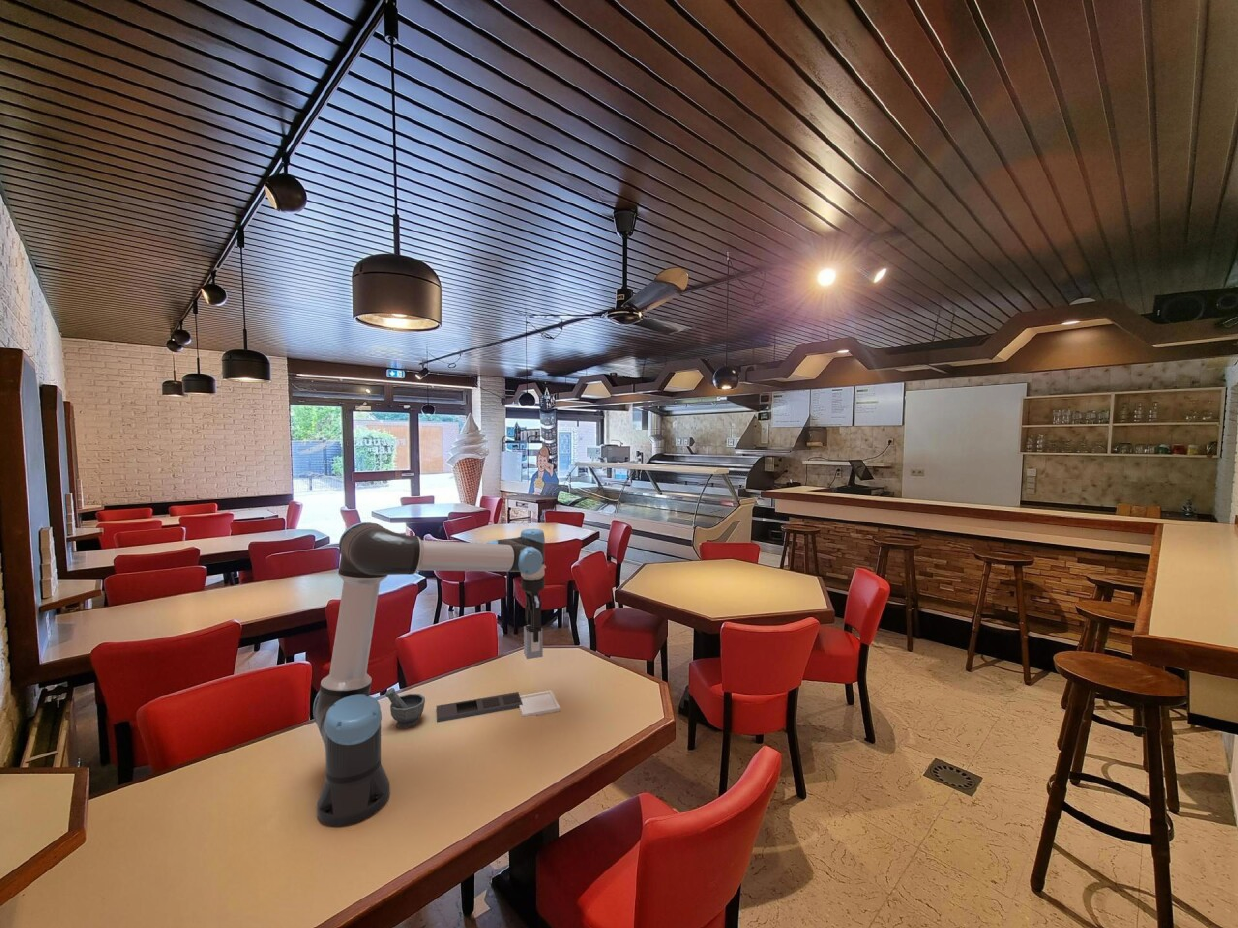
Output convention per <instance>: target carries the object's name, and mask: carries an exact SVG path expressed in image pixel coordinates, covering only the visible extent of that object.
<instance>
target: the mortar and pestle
mask: <svg viewBox="0 0 1238 928" xmlns="http://www.w3.org/2000/svg"><path fill="white" fill-rule="evenodd" d="M384 696H385V697H387V698H388V700H389V701H390V705H389V711H390V717H392V719H393V720H394V721H396V722H397V723H396V728H400V729H408V728H411V727H414V726H415V725H417V724H418V723H419V719H420V717H421V716H422V715H423V711H424V707H425V702H426V697H425V695H424V696H423V695H422V694H421V693H408V694H403V695H399V694H398V693H397V692H396V690H395V688H393V687H391V688H389V689H388V690H386V692H385V693H384Z"/></svg>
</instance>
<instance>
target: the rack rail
mask: <svg viewBox="0 0 1238 928" xmlns="http://www.w3.org/2000/svg"><path fill="white" fill-rule="evenodd" d="M520 696H521V695H520V694H519V691H516V692H509V693H503V694H498V695H491V696H486V697H480V698H474V699H468V700H464V701H463V700H462V701H457V702H456V701H455V702H452V703H451V702H450V703H445V704H439V705H436V723H443V722H447V721H453V720H458V719H465V718H470V717H476V716H481V715H486V714H493V713H497V712H504V711H508V710H514V709H520V708H519V705H522V706H523V703H522V701H521V698H520Z"/></svg>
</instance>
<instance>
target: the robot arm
mask: <svg viewBox="0 0 1238 928" xmlns="http://www.w3.org/2000/svg"><path fill="white" fill-rule="evenodd" d="M545 544H546V540H545V532H544V530H543V529H540V528H525V529H522V530H521V532H520V536H518V537H513V538H511V537H510V538H505V539H494V540H490V541H488V542H486V543H478V542H462V541H461V542H459V541H443V540H442V541H441V540H439V541H438V540H423V539H421V538H420V537H419V536H417V535H407V534H402V533H399V532H395V531H392V530H390V529H388V528H385V527H384V526H383V525H381V524H379V523H377V522H371V521H364V522H362V521H361V522H357V523H355V524H352V525H351V526H349V527H348V528H347V529H345V531H344V532H343V533H342V534H341V536H340V539H339V542H338V551H339V554H340V561H339V565H338V572H337V573H338V576H339V577H340V579H342V581H343V583H342V590H341V596H340V597H341V598H340V603H339V611H338V617H337V623H336V629H335V636H334V642H333V646H332V653H331V654H332V655H331V660H330V667H329V672H328V673H329V674H327V675H326V676H325V677H323V678H322V680H321V682H320V688H319V691H318V692H317V694H316V695H315V696H316V697H315V698H314V702H313V707H312V713H313V714H312V715H313V720H314V722H315V724H316V725H317V728H318V730H319V733H320V736H321V738H322V741H323V744H324V750H325V752H324V753H325V754H324V755H325V779H324V782H323V784H322V785H323V786H322V787H321V790H320V791H321V792H320V794H319V797H318V799H317V803H316V812H317V813H316V816H317V820H319V822H320V823H321V824H323V825H326V826H327V827H328V826H329V827H346V826H351V825H355V824H358V823H361V822H363V821H364V820H367V819H369V818H371V817H372V816H374V815H375V814H377V813H378V812H379V811H380V810H382V809H383V808H384V806H385V805H386V803H387V802H388V800H389V798H390V792H391V791H390V789H391V788H390V781H389V778H388V776H387V774H386V771H385V769H384V766H383V763H382V720H383V714H382V709H381V708H382V707H381V704H380V702H379V700H378V699H376V698H375V697H374V696H372V695H371V694H370V693H371V687H372V676H370V675H369V673H367V671H368V665H369V658H370V651H371V645H372V638H373V632H374V626H375V619H376V613H377V606H378V600H379V594H380V593H379V592H380V587H381V582H382V581H384V580H385V579H386V578H387V577H388V576H393V575H394V576H398V575H400V576H403V575H415V574H416V572H418V571H421V572H422V571H425V572H427V571H432V572H433V571H434V572H435V571H436V572H438V571H439V572H441V571H442V572H444V571H445V572H447V571H449V572H451V571H452V572H509V573H516V572H517V573H520V576H521V579H520V580H521V581H520V583H521V584H520V585H521V586H520V587H521V588H520V589H521V591H524V594H525V621H526V626H530V625H531V628H532V630H529V632H530V633H531V652H534V651H540V631H541V628H542V603H543V602H542V600H541V595H540V594H539V592H541V591H542V590H544V589H545V585H546V582H545V581H546V580H545V577H544V576H545V572H546V571H545V569H546V568H547V565H545V558H546V556H545V548H546V547H545Z"/></svg>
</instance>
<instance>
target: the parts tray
mask: <svg viewBox="0 0 1238 928" xmlns="http://www.w3.org/2000/svg"><path fill="white" fill-rule="evenodd" d="M520 698H521V701H522V703H523V706H522V705H519V708H518V709H519V711H520V713H521V717H522V718H526V717H530V716H536V717H537V716H542V715H545V714H546V715H548V714H552V713H553V714H554V713H557V712H561V706H560V704H559V702H558V701H557V698H556V696H555V695H554V692H553V690H546V691H539V692H534V693H528V694H523V695H520Z"/></svg>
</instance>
